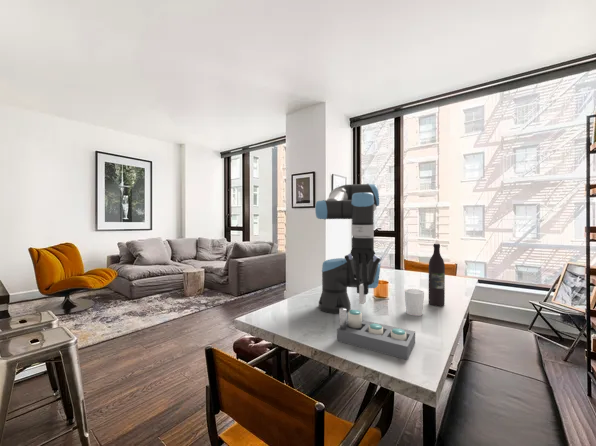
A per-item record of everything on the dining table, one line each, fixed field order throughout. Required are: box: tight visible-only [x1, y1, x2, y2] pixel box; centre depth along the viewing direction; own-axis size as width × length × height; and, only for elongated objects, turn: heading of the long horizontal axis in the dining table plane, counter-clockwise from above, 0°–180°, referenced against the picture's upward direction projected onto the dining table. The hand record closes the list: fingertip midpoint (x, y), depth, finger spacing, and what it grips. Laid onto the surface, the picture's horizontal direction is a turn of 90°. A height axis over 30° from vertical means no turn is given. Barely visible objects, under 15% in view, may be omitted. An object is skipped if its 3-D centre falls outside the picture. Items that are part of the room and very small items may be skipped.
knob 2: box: [391, 327, 406, 341], centre depth 87 cm, size 5×5×5 cm
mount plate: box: [336, 319, 416, 361], centre depth 91 cm, size 23×13×4 cm, turn 57°
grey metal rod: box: [338, 308, 347, 330], centre depth 92 cm, size 2×2×7 cm
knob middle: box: [369, 323, 383, 335], centre depth 91 cm, size 5×5×5 cm
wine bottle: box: [428, 243, 446, 308], centre depth 131 cm, size 7×7×30 cm
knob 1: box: [347, 309, 363, 328], centre depth 95 cm, size 5×5×5 cm
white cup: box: [404, 288, 425, 317], centre depth 119 cm, size 8×8×10 cm
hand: (362, 302), depth 94 cm, fingers closed
